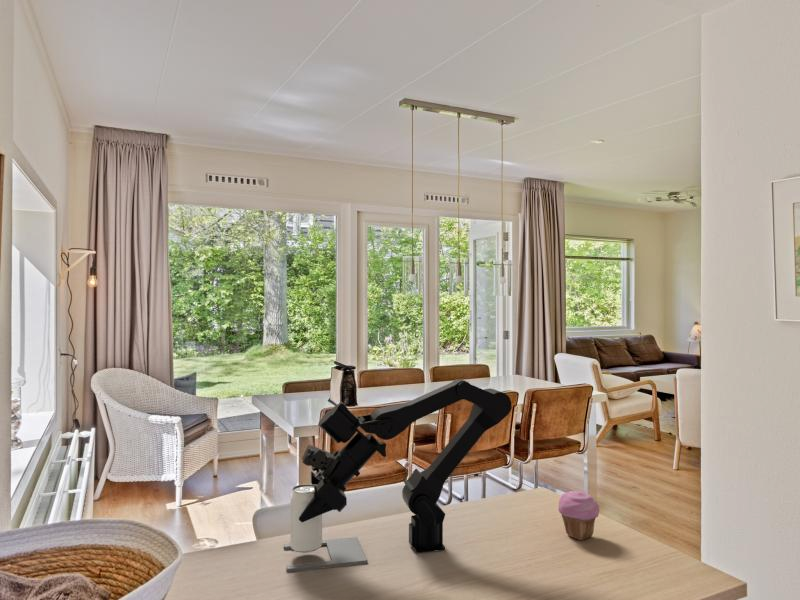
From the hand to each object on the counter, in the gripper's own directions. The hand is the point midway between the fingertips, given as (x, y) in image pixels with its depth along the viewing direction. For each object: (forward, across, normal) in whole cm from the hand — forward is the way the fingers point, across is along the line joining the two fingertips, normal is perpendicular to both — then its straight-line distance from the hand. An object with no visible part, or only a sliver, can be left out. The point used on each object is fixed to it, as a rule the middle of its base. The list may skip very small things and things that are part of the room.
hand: (299, 514), depth 116 cm
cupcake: (-37, +2, +51) cm, 63 cm away
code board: (+3, 0, +10) cm, 10 cm away
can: (+4, 0, +6) cm, 7 cm away
